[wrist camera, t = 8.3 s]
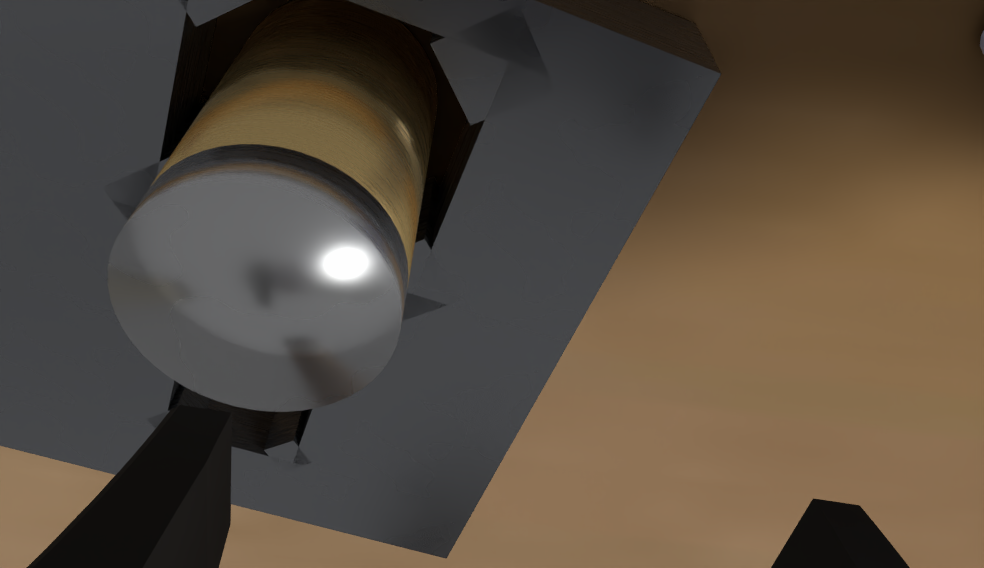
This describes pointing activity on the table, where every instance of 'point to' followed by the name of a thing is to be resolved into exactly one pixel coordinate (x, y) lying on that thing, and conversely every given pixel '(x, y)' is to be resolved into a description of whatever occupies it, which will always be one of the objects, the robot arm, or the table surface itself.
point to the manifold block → (436, 258)
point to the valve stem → (286, 215)
